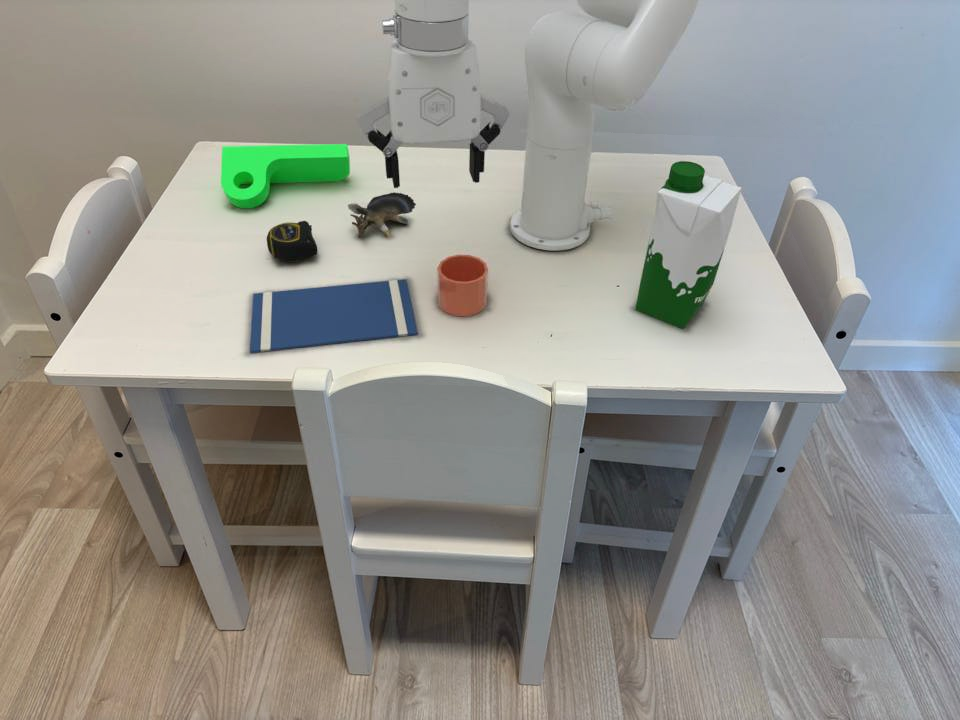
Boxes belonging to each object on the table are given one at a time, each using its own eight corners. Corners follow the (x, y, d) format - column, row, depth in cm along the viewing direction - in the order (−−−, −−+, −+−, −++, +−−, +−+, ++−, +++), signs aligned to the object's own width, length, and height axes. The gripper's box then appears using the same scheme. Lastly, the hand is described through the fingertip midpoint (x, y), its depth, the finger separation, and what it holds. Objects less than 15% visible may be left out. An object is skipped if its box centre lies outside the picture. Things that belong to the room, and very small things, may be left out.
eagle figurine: (379, 247, 102) (425, 217, 105) (353, 203, 100) (401, 174, 103) (360, 250, 108) (404, 222, 112) (336, 209, 106) (382, 182, 109)
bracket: (232, 222, 115) (219, 200, 108) (234, 171, 118) (221, 146, 111) (353, 218, 117) (348, 196, 110) (351, 168, 120) (346, 143, 113)
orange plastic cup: (480, 284, 98) (482, 252, 94) (491, 314, 93) (492, 280, 89) (435, 289, 97) (434, 256, 93) (442, 319, 92) (442, 285, 88)
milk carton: (652, 280, 100) (683, 150, 86) (712, 303, 96) (754, 171, 82) (625, 310, 94) (654, 176, 81) (688, 336, 90) (729, 199, 77)
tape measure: (320, 262, 101) (316, 241, 98) (272, 270, 99) (267, 247, 96) (313, 238, 105) (310, 217, 103) (267, 244, 104) (263, 223, 101)
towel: (406, 281, 98) (406, 278, 98) (417, 334, 89) (417, 332, 89) (253, 295, 94) (253, 293, 94) (250, 353, 86) (249, 350, 85)
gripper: (350, 45, 68) (365, 200, 80) (521, 39, 71) (511, 190, 82) (347, 22, 73) (361, 170, 85) (505, 17, 76) (498, 161, 88)
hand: (435, 180), depth 84 cm, fingers open, 9 cm apart
